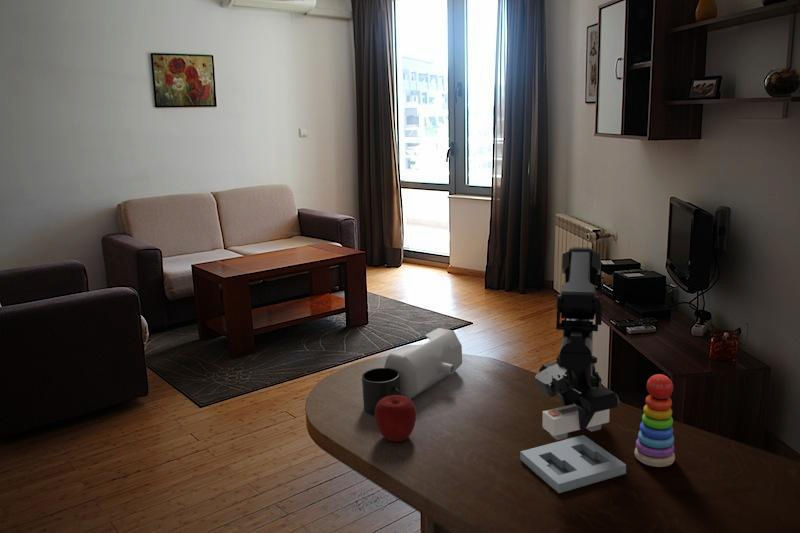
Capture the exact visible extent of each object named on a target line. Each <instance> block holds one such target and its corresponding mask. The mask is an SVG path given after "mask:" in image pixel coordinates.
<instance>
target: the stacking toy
mask: <svg viewBox="0 0 800 533" xmlns="http://www.w3.org/2000/svg"><path fill="white" fill-rule="evenodd" d="M646 390H647V392H648V394H649V395H647V396H646V397H645V405H644V406H643V414H642V415H641V420H642V421H641V422H640V423H639V424H640V425H639V431H638V434H637V437H638V438H637V439H636V440H635V448H634V451H633V452H634V457H635V458H636V459H637V460H638V461H639V462H640V463H641V464H644V465H646V466H650V467H654V468H655V467H656V468H663V467H664V468H665V467H669V466H671V465H672V464H673V463H675V460H676V454H675V452H674V451H675V445H674V443H675V436H674V435H673V433H674V428H673V424H674V419H673V417H672V415H673V409H672V405H673V402H672V399H671V398H670V396H671V395H672V393H673V392H674V384H673V382H672V379H670V377H668V376H666V375H665V374H661V373H658V374H653V375H652V376H650V377H649V378H648V380H647V382H646Z"/></svg>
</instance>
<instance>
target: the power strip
mask: <svg viewBox="0 0 800 533" xmlns="http://www.w3.org/2000/svg"><path fill="white" fill-rule="evenodd" d="M610 410H611V409H607V410H603V411H599V412H595V414H594V415H593V417H592V419H591V421H590V422H589V424H588V426H587V427H586V429H587V430H588V431H590V432H595V431H599V430H601V429H602V425H604V424H607V423H610ZM542 429H544V430H546V431H547V432H548V433H549V434H550V436H551V437H552V438H554V439H555V440H556V441H559V440H560V441H561V440H565V439H569V438H568V433H571V432H576V431H580V430H581V429H580V425H579V415H578V407H577V406H576V405H575V404H572V405H567V406H563V405H562V406H560V407H555V408H550V409H547V410H543V411H542Z"/></svg>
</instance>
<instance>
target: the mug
mask: <svg viewBox="0 0 800 533" xmlns="http://www.w3.org/2000/svg"><path fill="white" fill-rule="evenodd" d="M361 382H362V384H361V387H362V399H363V400H362V401H363V409H364V412H366V413H367V414H369V415H371V416H375V407H376V405H377V403H378V402H379V401H380V400H381V399H382V398H384V397H387V396H391V395H401V393H400V375H399V372H398V371H396V370H394V369H390V368H384V367H378V368H371V369H369V370H367V371H365V372H363V373H362V375H361Z"/></svg>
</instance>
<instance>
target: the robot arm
mask: <svg viewBox="0 0 800 533" xmlns="http://www.w3.org/2000/svg"><path fill="white" fill-rule="evenodd" d="M561 256H562V257H561V272H562V273H561V274H564V275H565V276H564V278H565V283H563V284H562V286H561V292H560V294H557V299H556V300H557V301H556V302H557V304H556V322H555V323H556V326H555V329H556V330H557V331H562V333H561V334H562V336H561V338H562V340H561V344H560V348H559V354H557V357H556V361H554V362H551V363H546V364H545V363H544V364H542V366H541V367H540V368H539V369H538V372H537V374H535V375H534V379H535V381H536V385H537V387H538V390H539V392H543V393H544V394H545V395H546V396H547V397H548V398H554V397H556V396H559V399H560V401H561V402H560V403H561V405H562V407H563V406H567V405H572V404H575V405H576V406H577V407H578V415H579V425H580V430H581V431H582V430H583V431H584V430H586V429H587V428H586V427H587V426H588V424H589V422H590V421H591V419H592V417H593V415H594V414H595V412H599V411H603V410H607V409H610V410H611V409H615V408H618V407H619V402H620V401H619V395H618V394H617V393H616V392H615V391H612V390H611V389H610V388H608V387H606V386H605V385H602V378H601V376H600V374H599V372H598V371H596V364H597V363H598V358H597V357H596V356H594V355H593V349H594V348H593V346H594V344H593V343H594V342H593V341H594V340H593V338H594V332H598V331H599V326H602V320H603V319H602V314H603V313H602V311H603V307H602V306H603V305H602V303H603V302H602V300H600V297H599V296H600V295H595V294H596V285H597V283H598V276H599V275H601V269H602V268H601V267H602V265H601V264H602V261H601V260H602V255H601V254H600V253H598V252H596V251H594V249H593V248H591V247H584V246H583V247H577V246H575V247H574V246H573V247H570V248H569V249H568V251H566V252H565V253H562V255H561ZM561 319H563V320H561ZM592 320H594V321H595V322H594V321H592Z"/></svg>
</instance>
